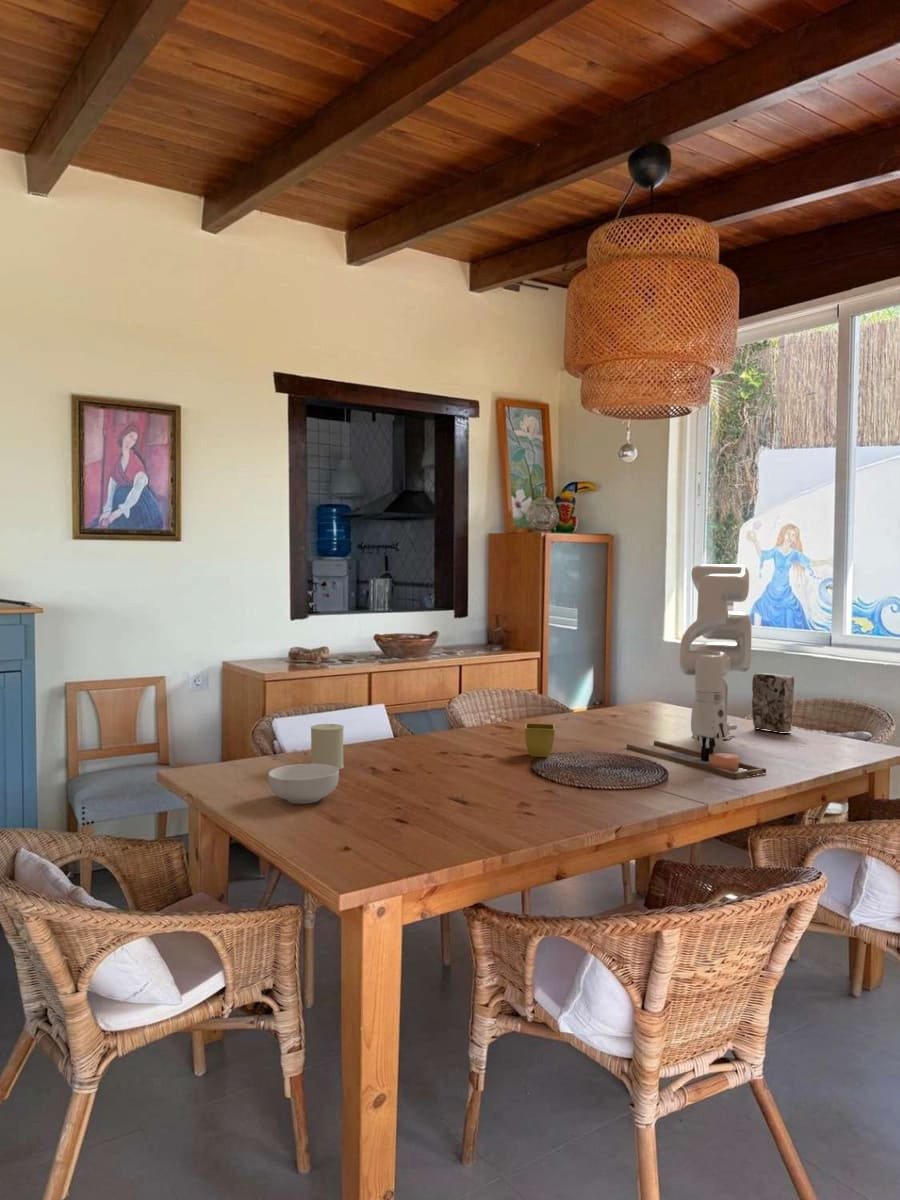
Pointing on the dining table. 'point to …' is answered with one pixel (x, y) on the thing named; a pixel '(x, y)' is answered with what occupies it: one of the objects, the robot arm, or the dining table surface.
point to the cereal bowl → (303, 782)
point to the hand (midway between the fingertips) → (707, 760)
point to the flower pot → (539, 739)
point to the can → (327, 745)
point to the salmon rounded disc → (724, 761)
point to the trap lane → (693, 759)
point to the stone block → (772, 701)
